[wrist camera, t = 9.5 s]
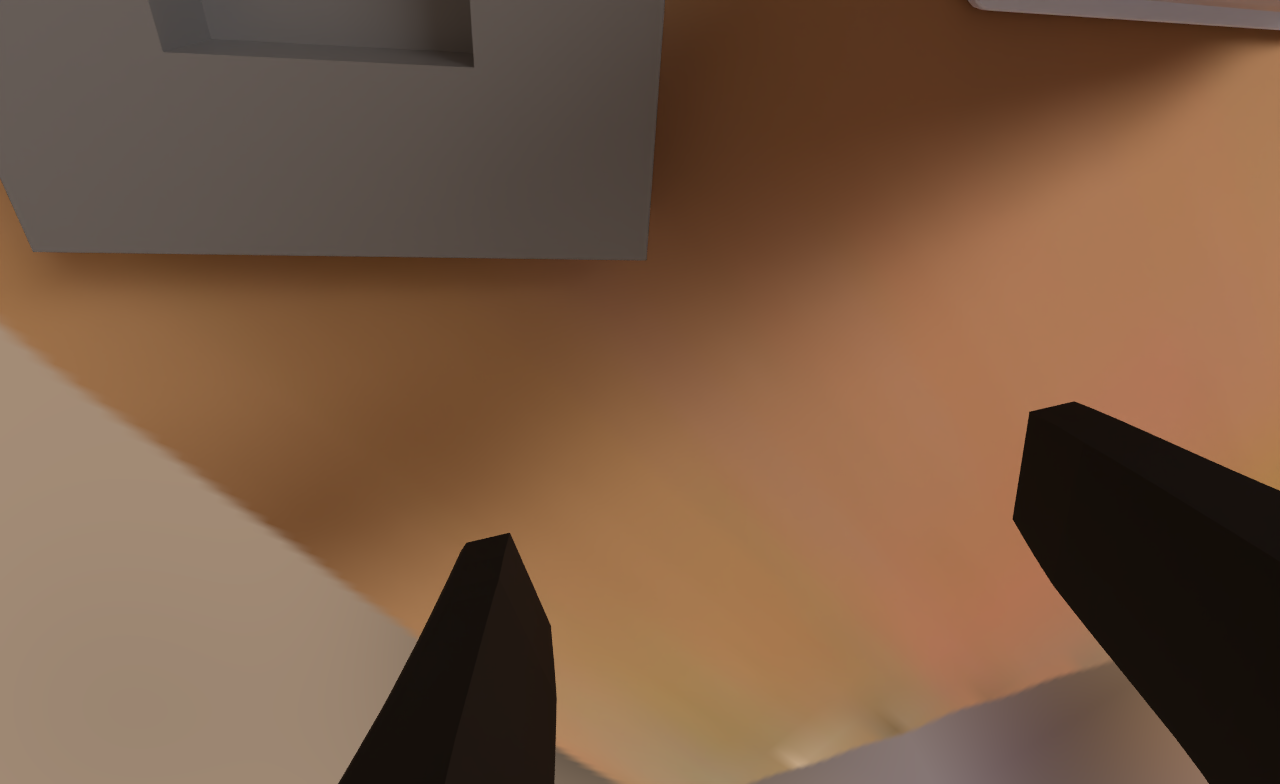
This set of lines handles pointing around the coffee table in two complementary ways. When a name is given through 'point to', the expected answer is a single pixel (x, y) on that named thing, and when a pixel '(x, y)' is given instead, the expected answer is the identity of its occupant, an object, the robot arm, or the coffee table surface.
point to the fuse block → (332, 126)
